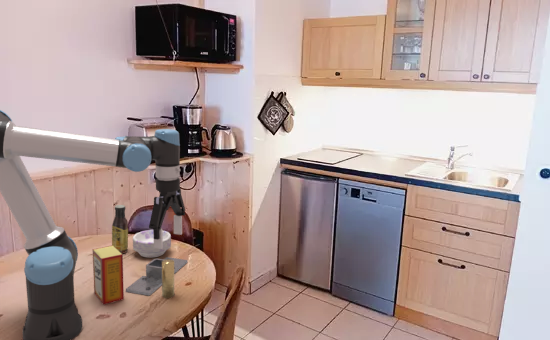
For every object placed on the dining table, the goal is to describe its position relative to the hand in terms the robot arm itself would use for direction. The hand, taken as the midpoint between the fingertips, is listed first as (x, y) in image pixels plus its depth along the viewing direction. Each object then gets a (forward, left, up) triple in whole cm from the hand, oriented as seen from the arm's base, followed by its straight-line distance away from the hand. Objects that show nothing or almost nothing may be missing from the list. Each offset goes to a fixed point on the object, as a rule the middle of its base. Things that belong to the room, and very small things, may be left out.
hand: (168, 240), depth 144 cm
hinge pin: (0, 0, -19) cm, 19 cm away
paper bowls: (+30, +23, -20) cm, 43 cm away
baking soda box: (-7, +18, -20) cm, 28 cm away
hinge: (+12, +10, -19) cm, 25 cm away
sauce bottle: (+27, +36, -20) cm, 49 cm away
